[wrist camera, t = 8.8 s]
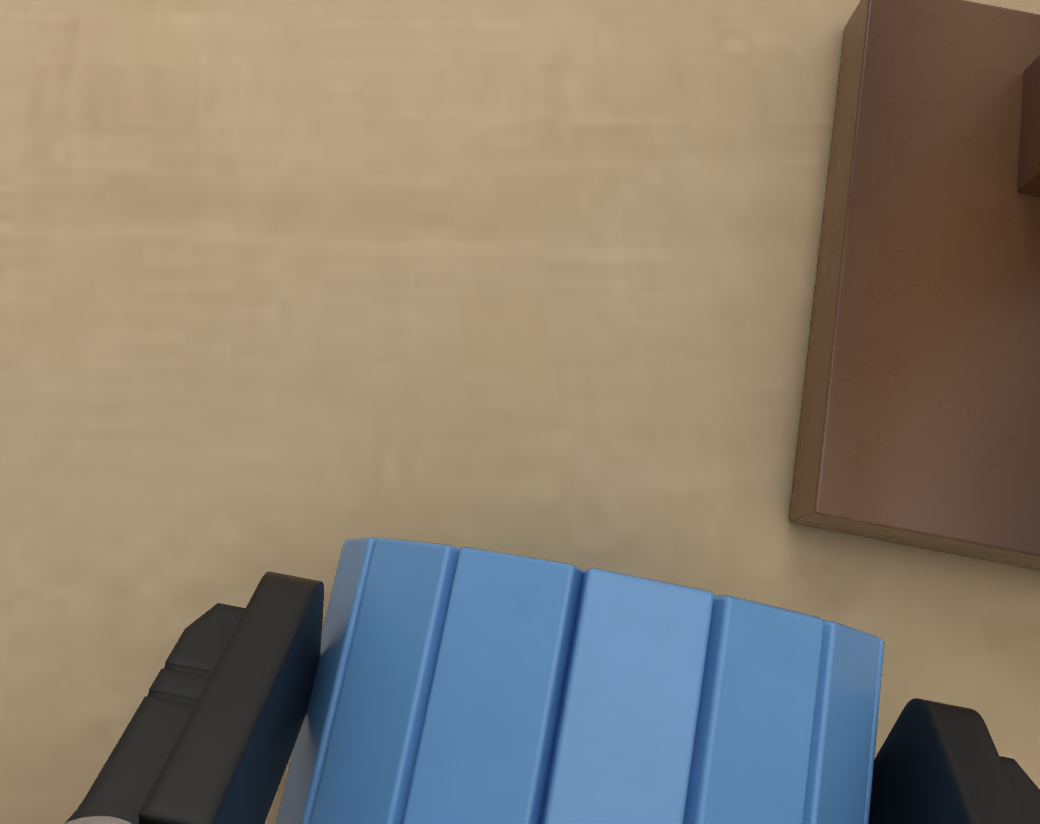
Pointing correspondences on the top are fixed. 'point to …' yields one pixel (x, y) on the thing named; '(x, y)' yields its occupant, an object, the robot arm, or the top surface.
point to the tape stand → (929, 287)
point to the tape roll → (574, 700)
